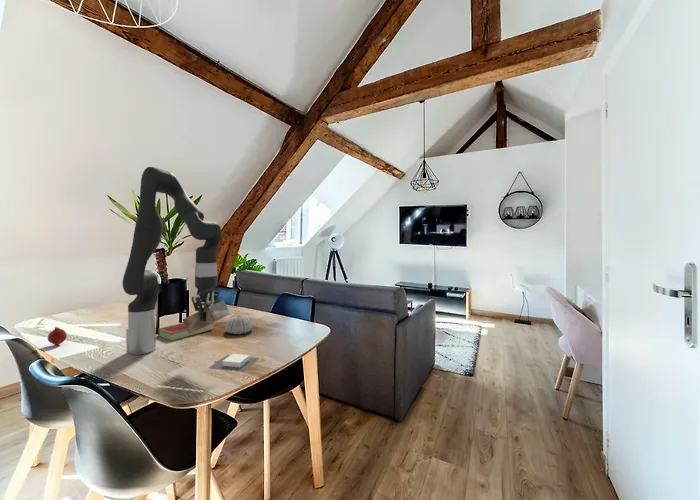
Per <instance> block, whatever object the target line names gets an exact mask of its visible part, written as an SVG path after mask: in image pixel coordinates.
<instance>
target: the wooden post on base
mask: <svg viewBox="0 0 700 500" xmlns="http://www.w3.org/2000/svg"><path fill="white" fill-rule="evenodd" d="M230 315H231V312H230V311H229V309H228V306H227V304H226V301H225V300H221V301H219V302H218V301H217V303H215V304H213V305H210V306H209V307H207V309H206V321H205V322H201V321H200V312H199V311H196V312H195V313H193V314H191V315H189V316H187V317H185V318H183V319H182V323H184V324H185V326H186V329H187V331H188V333H189V334H190V333H192V332H194V331H196V330H199V329H201V328H203V327H205V326H207V325H209V324H211V323H213V324H214V323H215V322H218V321H219V320H222V319H224V318H226V317H228V316H230Z"/></svg>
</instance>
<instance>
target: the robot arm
mask: <svg viewBox="0 0 700 500" xmlns="http://www.w3.org/2000/svg"><path fill="white" fill-rule="evenodd" d="M157 193H159V194H166V195H168V196H169V197H171V199H172V200H173V201H174V202H173V203H174V209H175V212H176V213H177V214H178V216H179V217H180V218H181V219H182V220H183V221H184V223H185V224H186V227H187V229H188V233H189V234H190V236H192V237H193V238H194V239H195V240H199V241H204V244H203V245H202V246H199V247H198V246H197V248H196V249H195V265H194V266H195V267H194V287H195V289H197V292H196V295H195V296H192V297H191V301H192V306H193V307H194V311H195V312H200V321H201V322H205V321H206V309H207V307H209V306H210V305H213V304H215V303H218V299H219V295H220V291H217V290H216V289H215V288H216V287H218V265H217V252H218V248H219V244H220V241H221V237H222V227H221V226H220V224H219V223H218V222H217V221H208V220H204V219H205V214H204V212H203V211H202V209H200V208H199V207H198V206H197V204H196V203H194V201H192V200H191V198H190V197H189V195H188V194H187V192H186V190H185V189H184V187H183V186H182V184H181V183H180V181H179V180H178V178H177V176H176V175H175V174H174V173H173V172H172V171H168V170H164V169H162V168H158V167H154V166H148V167H146V168H145V169H144V170H143V172H142V174H141V179H140V190H139V202H138V210H137V218H136V221H135V225H134V226H135V227H134V231H133V238H132V244H131V249H130V254H129V258H128V261H127V265H126V268H125V271H124V273H123V278H122V289H123V292H125V294H127V295H130V296H135V297H134V299H133V300H132V301H131V302H130V303H128V305H127V314H128V315H127V319H128V327H127V328H126V331H125V332H126V333H125V337H126V339H125V340H126V341H125V344H126V353H127V354H129V355H133V356H139V355H145V354H149V353H152V352H153V351H155V350H156V344H157V343H156V341H157V337H156V328H157V327H156V305H157V302H158V296H159V295H158V294H159V293H158V292H159V280H158V276H157V274H156V273H155V272H154V271H152V270H150V269H148V270H146V269H147V268H146V267H147V263H148V262H149V259H150V258H151V257H152V255H153V254H154V252H155V251H156V250H157V248H158V247H159V245H160V243H161V240H162V235H163V230H164V224H163V221H162V218H161V216H160V214H159V211H158V209H157V204H156V198H157V197H156V196H157Z"/></svg>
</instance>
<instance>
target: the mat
mask: <svg viewBox="0 0 700 500" xmlns="http://www.w3.org/2000/svg"><path fill="white" fill-rule="evenodd" d="M229 356H230V355H228V354H227V355H225V356H224V357H222V358H221V359H219V360H218V361H217V362H215V363H214V364H212V365H211V366H209V367H208V369H213V370H223V371H232V372H233V371H235V372H241V373H242V372H243V373H245V372H246V371H247V370H248V369H249V368H251V366H253V365H254V364H255V363H256V362H258V360H259V359H260V357H252V356H250V360H249V361H247V362H246V363H245V364H244V365H242V366H241V367H229V366H222V361H223V360H224V359H226V358H227V357H229Z"/></svg>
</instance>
